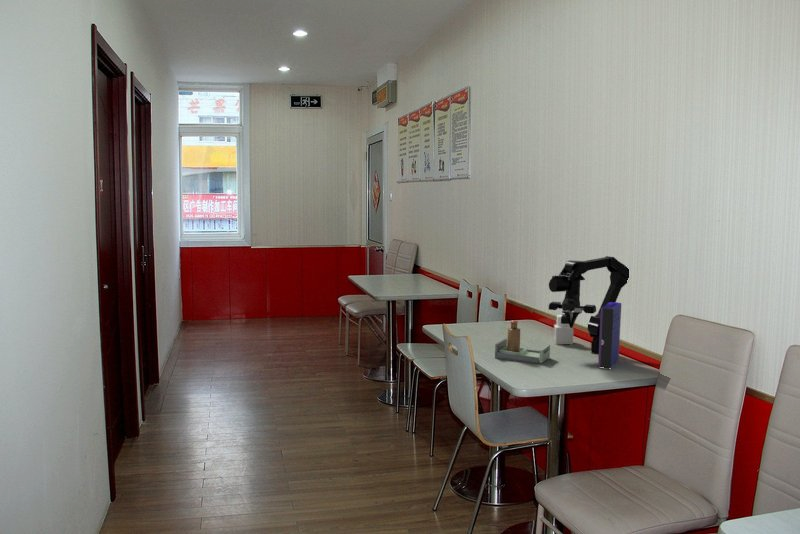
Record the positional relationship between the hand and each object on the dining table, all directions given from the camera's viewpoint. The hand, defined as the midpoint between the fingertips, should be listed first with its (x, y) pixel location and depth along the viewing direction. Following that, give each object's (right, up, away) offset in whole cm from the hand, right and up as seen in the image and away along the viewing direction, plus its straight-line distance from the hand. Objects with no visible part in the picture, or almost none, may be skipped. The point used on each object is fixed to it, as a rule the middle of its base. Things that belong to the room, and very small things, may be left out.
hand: (571, 327), depth 287 cm
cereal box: (+12, -14, -12) cm, 22 cm away
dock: (-22, -12, -4) cm, 25 cm away
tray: (-21, -12, -5) cm, 24 cm away
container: (+3, -9, +26) cm, 28 cm away
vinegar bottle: (-25, -10, -3) cm, 27 cm away
